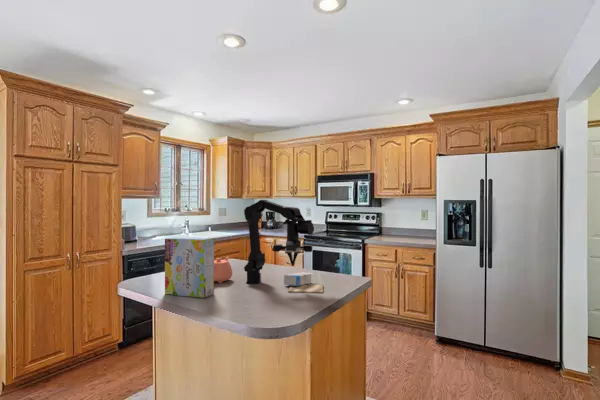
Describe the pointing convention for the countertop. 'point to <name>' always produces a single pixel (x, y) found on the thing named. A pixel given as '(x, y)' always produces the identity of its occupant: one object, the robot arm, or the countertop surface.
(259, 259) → the robot arm
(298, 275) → the ink box
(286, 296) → the countertop surface
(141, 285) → the countertop surface
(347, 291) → the countertop surface
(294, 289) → the cork trivet
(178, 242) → the snack box
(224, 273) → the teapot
